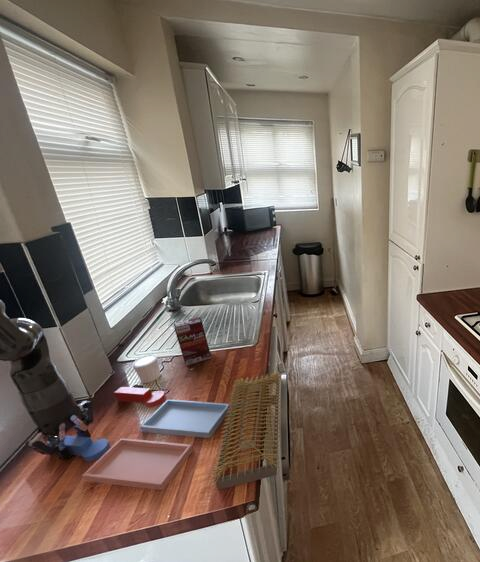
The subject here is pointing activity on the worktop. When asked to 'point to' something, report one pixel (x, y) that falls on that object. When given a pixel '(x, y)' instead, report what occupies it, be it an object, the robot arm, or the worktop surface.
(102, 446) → the blue spoon
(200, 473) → the worktop surface
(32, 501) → the worktop surface
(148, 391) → the red spoon
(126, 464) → the rose tray
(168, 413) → the blue tray
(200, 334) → the supplement box
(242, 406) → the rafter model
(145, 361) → the white short cylinder
